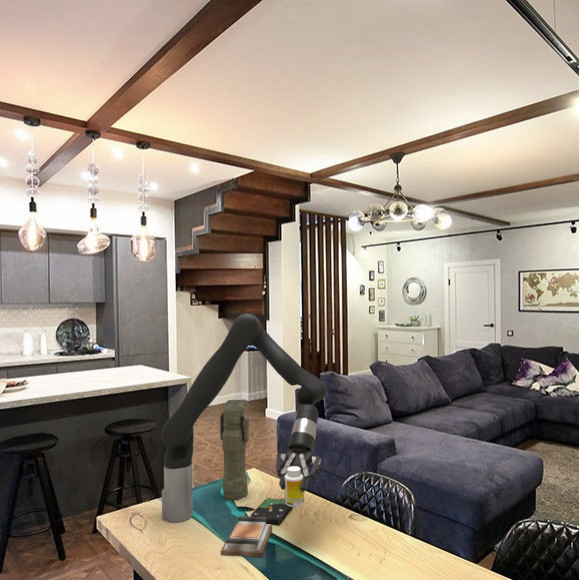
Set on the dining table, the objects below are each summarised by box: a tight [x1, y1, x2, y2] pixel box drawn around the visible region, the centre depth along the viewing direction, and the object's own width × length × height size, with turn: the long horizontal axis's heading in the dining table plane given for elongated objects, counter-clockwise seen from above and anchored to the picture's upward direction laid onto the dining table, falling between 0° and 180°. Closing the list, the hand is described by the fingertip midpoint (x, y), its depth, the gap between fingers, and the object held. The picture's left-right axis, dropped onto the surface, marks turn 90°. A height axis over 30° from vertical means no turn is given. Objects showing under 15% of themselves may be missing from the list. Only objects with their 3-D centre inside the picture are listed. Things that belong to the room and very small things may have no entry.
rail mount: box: [220, 515, 273, 558], centre depth 138 cm, size 12×16×4 cm
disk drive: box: [250, 497, 294, 527], centre depth 156 cm, size 10×3×15 cm
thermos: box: [219, 399, 250, 502], centre depth 172 cm, size 9×12×35 cm
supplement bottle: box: [284, 466, 305, 508], centre depth 136 cm, size 6×6×10 cm
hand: (292, 489), depth 134 cm, fingers closed on supplement bottle, 5 cm apart
